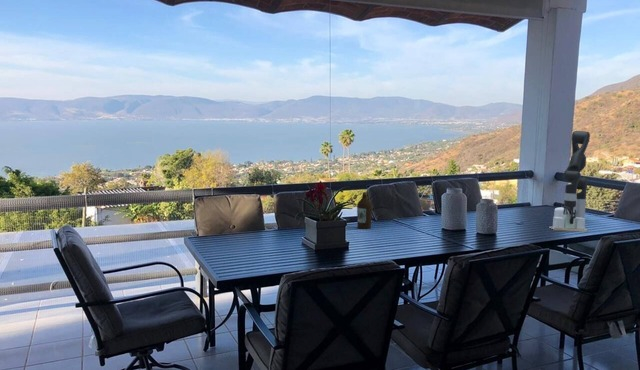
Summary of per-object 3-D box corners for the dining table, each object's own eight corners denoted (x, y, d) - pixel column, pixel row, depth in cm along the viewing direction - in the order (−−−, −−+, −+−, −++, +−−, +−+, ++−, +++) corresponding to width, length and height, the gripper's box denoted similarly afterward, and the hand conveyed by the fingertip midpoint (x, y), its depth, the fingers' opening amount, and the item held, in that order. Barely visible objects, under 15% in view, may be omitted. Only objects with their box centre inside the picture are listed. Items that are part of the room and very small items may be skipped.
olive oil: (361, 225, 354) (362, 191, 351) (374, 227, 348) (375, 192, 345) (353, 228, 345) (354, 192, 342) (366, 230, 339) (367, 194, 336)
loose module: (562, 227, 347) (563, 214, 346) (571, 227, 346) (572, 214, 345) (565, 228, 343) (565, 215, 342) (574, 228, 342) (575, 215, 341)
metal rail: (551, 227, 347) (551, 226, 347) (583, 228, 346) (583, 227, 346) (553, 228, 343) (553, 227, 343) (586, 229, 342) (586, 228, 342)
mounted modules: (552, 226, 348) (553, 216, 347) (580, 227, 347) (581, 217, 346) (556, 228, 342) (556, 218, 341) (584, 228, 341) (585, 218, 340)
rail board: (549, 227, 350) (549, 226, 350) (581, 228, 349) (581, 227, 349) (554, 230, 341) (554, 229, 340) (587, 231, 339) (588, 230, 339)
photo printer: (552, 223, 367) (553, 207, 365) (555, 222, 370) (556, 206, 368) (566, 225, 359) (568, 208, 357) (569, 225, 362) (570, 208, 360)
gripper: (580, 201, 335) (578, 224, 337) (571, 198, 349) (570, 220, 351) (569, 201, 335) (567, 224, 337) (560, 198, 350) (559, 220, 351)
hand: (568, 222), depth 344 cm, fingers open, 8 cm apart
